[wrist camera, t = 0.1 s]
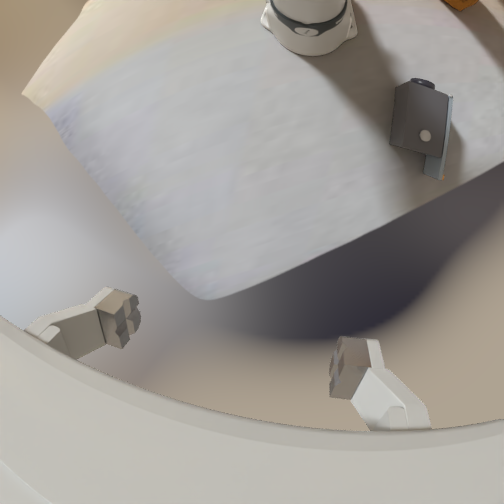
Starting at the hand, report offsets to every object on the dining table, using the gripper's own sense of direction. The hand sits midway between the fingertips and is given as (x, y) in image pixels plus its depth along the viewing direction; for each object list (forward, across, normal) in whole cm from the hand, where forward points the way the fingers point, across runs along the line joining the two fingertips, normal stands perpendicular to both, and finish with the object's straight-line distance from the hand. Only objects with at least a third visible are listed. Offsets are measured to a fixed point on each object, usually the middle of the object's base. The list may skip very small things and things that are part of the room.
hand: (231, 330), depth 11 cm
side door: (+48, -27, -13) cm, 56 cm away
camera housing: (+48, -22, -15) cm, 55 cm away
